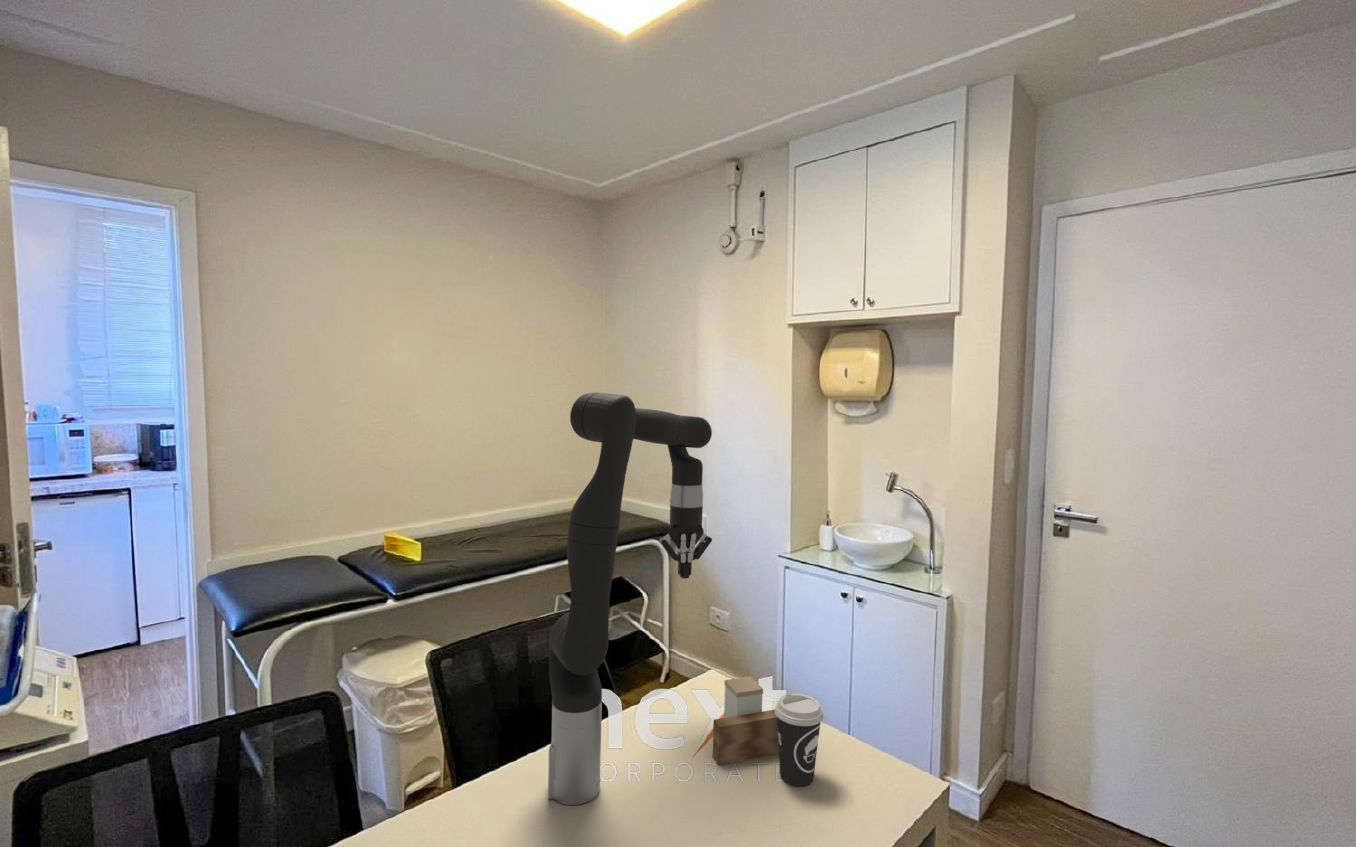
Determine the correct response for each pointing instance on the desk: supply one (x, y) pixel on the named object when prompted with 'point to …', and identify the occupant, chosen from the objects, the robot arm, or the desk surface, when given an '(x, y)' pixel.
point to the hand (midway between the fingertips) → (684, 577)
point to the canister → (742, 697)
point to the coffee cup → (798, 737)
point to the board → (745, 737)
